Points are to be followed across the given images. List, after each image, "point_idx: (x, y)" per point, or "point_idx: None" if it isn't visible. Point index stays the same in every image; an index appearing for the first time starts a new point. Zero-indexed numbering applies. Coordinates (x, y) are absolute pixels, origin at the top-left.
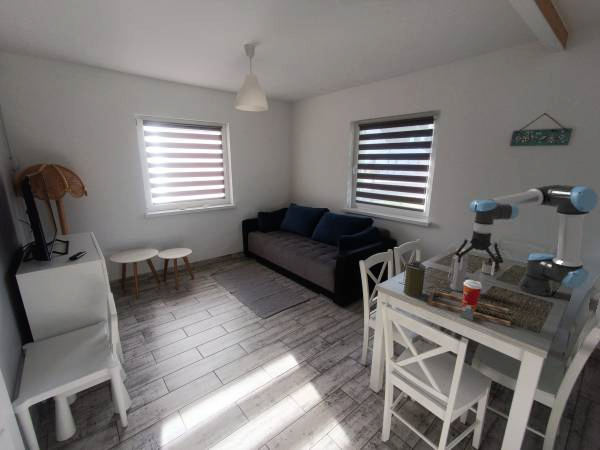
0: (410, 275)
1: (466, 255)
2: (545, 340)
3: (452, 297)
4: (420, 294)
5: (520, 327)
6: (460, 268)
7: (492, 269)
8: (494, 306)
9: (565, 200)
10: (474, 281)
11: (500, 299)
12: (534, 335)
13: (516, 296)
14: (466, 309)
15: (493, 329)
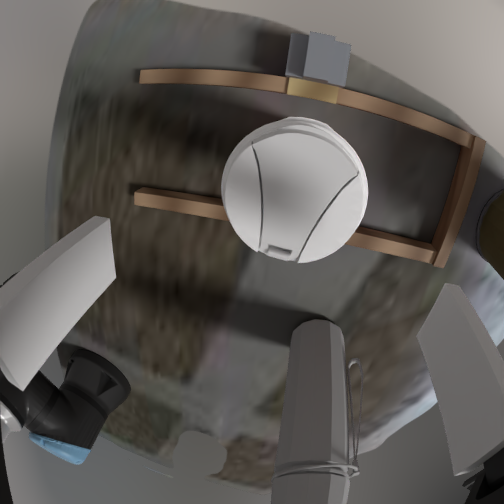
0: None
1: (290, 494)
2: (72, 56)
3: (363, 232)
4: (495, 206)
5: (116, 94)
6: (456, 293)
7: (52, 259)
8: (181, 204)
9: None
10: (277, 236)
11: (164, 303)
12: (90, 65)
13: (126, 336)
14: (331, 36)
15: (213, 13)
